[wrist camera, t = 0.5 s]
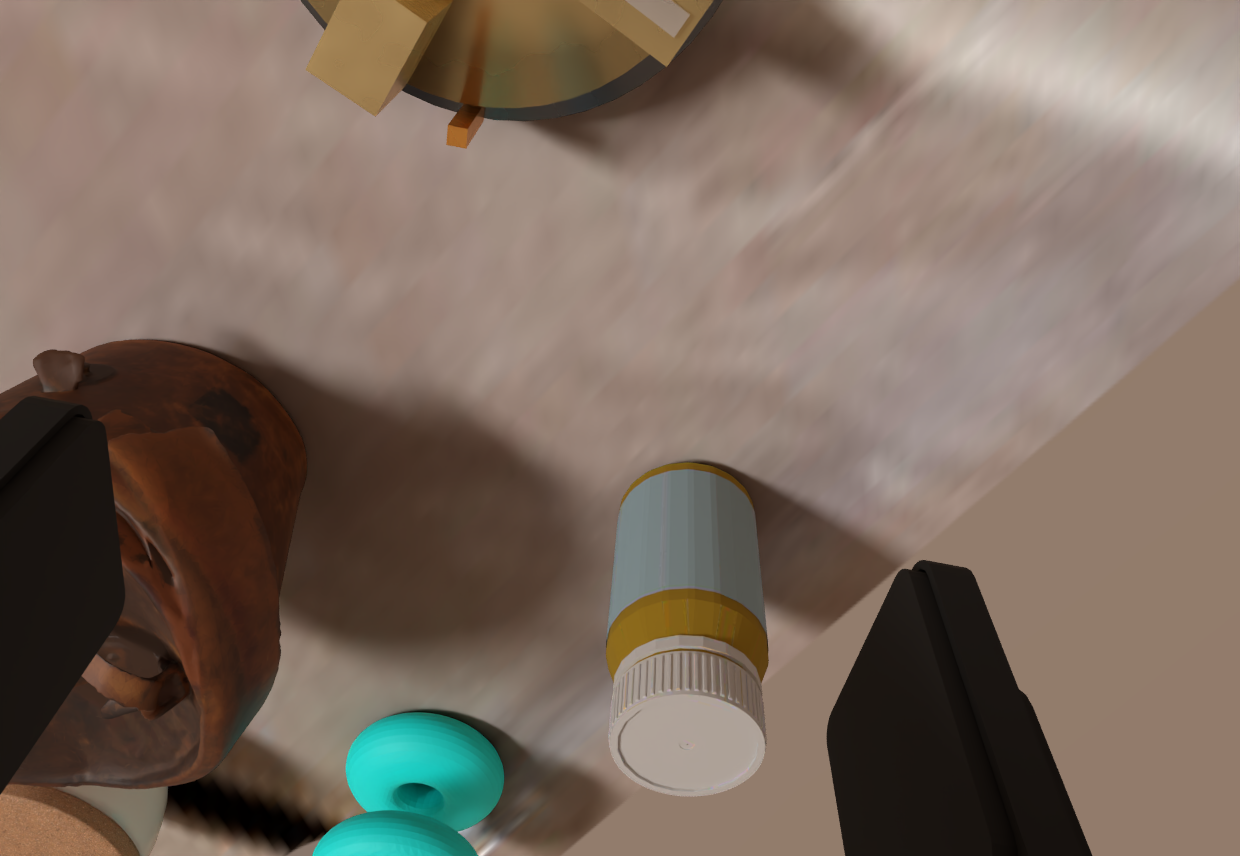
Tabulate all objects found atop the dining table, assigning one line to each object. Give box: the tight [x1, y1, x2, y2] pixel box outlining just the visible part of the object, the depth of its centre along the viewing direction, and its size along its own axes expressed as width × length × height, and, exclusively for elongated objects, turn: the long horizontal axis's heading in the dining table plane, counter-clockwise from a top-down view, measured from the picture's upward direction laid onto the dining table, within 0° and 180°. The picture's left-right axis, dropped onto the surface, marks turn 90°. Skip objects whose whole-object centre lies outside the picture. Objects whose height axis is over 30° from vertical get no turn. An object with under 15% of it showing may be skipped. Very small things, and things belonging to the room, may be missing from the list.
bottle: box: [606, 462, 769, 796], centre depth 44 cm, size 7×7×15 cm
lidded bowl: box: [0, 784, 168, 856], centre depth 58 cm, size 13×13×11 cm
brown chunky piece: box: [0, 340, 307, 789], centre depth 42 cm, size 18×20×18 cm
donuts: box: [312, 712, 504, 856], centre depth 58 cm, size 10×10×10 cm
